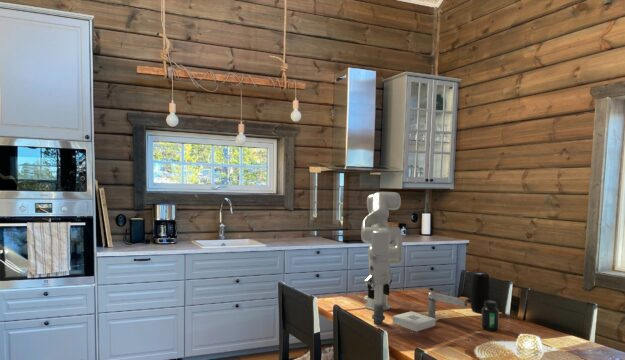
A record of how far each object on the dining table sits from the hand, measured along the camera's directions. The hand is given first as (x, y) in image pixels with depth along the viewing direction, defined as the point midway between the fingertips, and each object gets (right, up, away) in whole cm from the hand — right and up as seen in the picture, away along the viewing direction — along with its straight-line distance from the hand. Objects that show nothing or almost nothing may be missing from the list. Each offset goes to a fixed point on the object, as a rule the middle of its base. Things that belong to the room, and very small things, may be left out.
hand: (378, 296), depth 183 cm
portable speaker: (+55, -15, +24) cm, 61 cm away
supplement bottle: (+49, -14, -2) cm, 51 cm away
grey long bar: (+31, -3, +1) cm, 31 cm away
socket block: (+18, -13, +1) cm, 23 cm away
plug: (0, -12, -1) cm, 12 cm away
